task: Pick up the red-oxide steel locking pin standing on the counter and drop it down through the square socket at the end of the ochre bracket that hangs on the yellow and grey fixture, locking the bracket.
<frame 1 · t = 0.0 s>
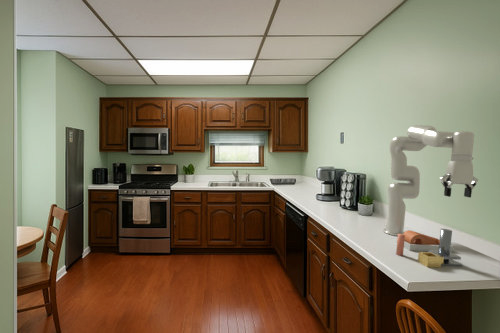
hand: (457, 196, 128), 31 cm above the table, fingers open, 9 cm apart
yellow and grey fixture: (443, 261, 132), on the table
pipe rack: (423, 247, 151), on the table
pin: (399, 254, 137), on the table
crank: (423, 247, 151), resting in pipe rack
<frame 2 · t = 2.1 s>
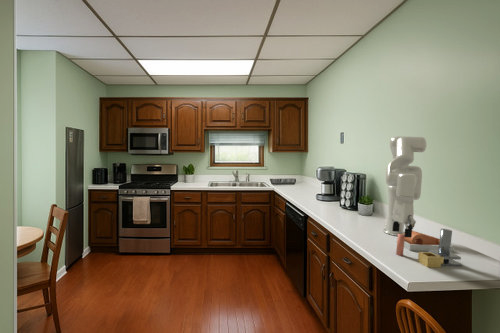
hand: (401, 234, 136), 10 cm above the table, fingers open, 9 cm apart
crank: (424, 247, 152), resting in pipe rack
everything else where it was.
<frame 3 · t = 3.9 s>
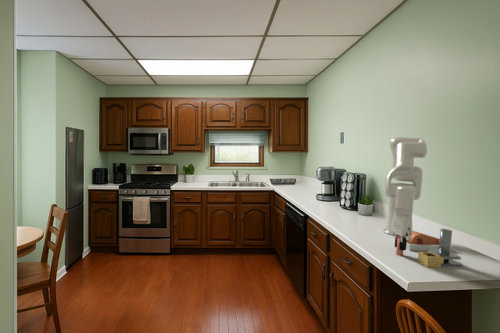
hand: (400, 248, 137), 3 cm above the table, fingers closed on pin, 3 cm apart
pin: (399, 254, 137), on the table, touching gripper
everything else where it was.
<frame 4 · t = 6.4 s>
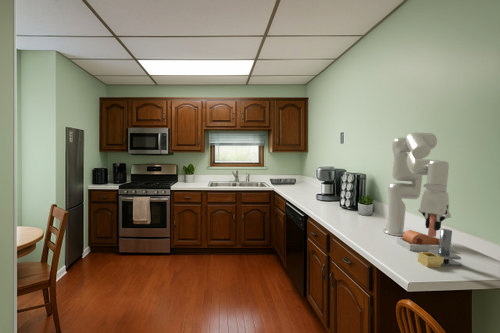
hand: (432, 228, 125), 17 cm above the table, fingers closed on pin, 3 cm apart
pin: (431, 235, 126), point 13 cm above the table, touching gripper
everything else where it was.
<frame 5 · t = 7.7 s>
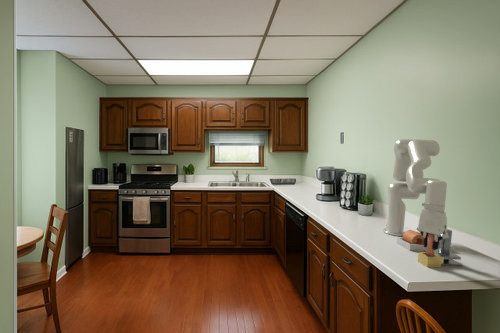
hand: (430, 247, 126), 8 cm above the table, fingers closed on pin, 3 cm apart
pin: (429, 254, 126), point 5 cm above the table, touching gripper
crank: (424, 247, 152), resting in pipe rack
when the fingers open (6 cm above the table, at t = 8.9 s): pin drops 3 cm, resting in yellow and grey fixture.
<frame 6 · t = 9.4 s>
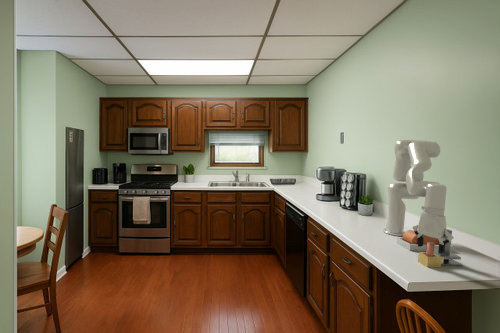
hand: (430, 249, 126), 7 cm above the table, fingers open, 8 cm apart
pin: (428, 264, 127), resting in yellow and grey fixture
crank: (424, 247, 152), resting in pipe rack
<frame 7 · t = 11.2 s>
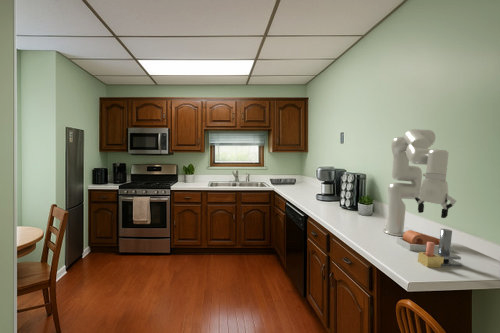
hand: (431, 215, 126), 23 cm above the table, fingers open, 9 cm apart
nothing on the table moved.
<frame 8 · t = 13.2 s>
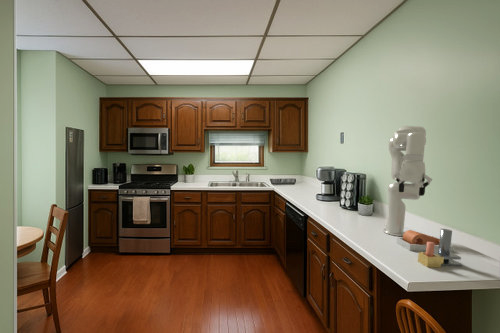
hand: (411, 193, 136), 30 cm above the table, fingers open, 9 cm apart
nothing on the table moved.
at the end: pin 0.1 cm from the target spot on the yellow and grey fixture, point 0.0 cm above the yellow and grey fixture's base; pin tilted 0°; the gripper is holding nothing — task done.
